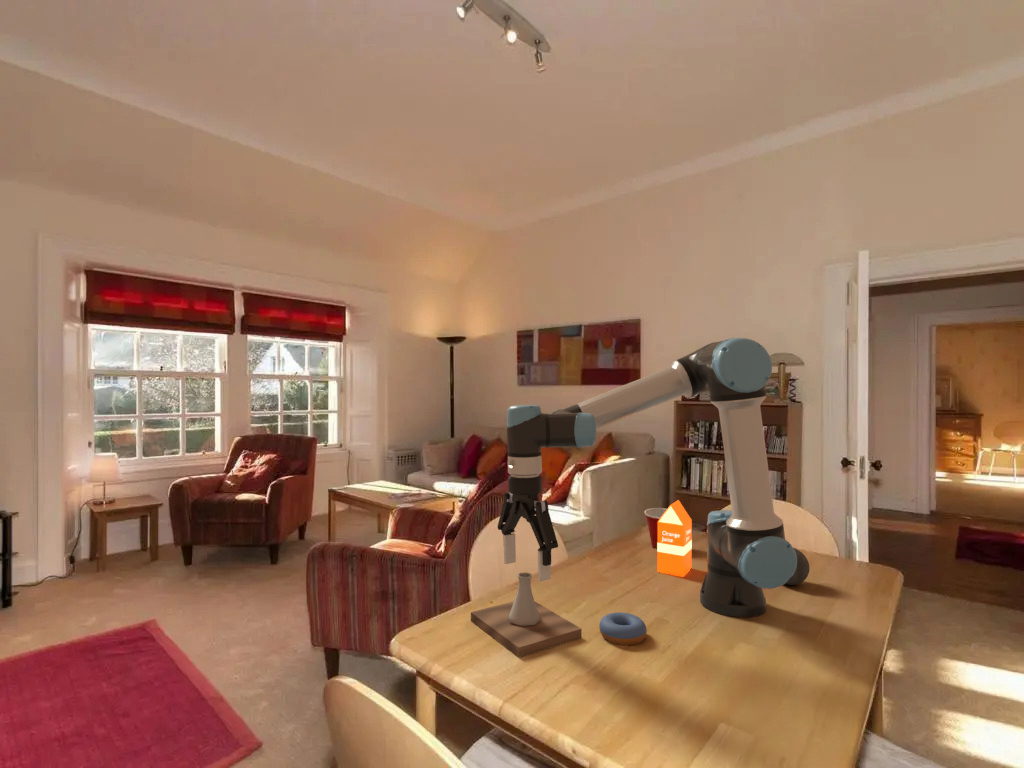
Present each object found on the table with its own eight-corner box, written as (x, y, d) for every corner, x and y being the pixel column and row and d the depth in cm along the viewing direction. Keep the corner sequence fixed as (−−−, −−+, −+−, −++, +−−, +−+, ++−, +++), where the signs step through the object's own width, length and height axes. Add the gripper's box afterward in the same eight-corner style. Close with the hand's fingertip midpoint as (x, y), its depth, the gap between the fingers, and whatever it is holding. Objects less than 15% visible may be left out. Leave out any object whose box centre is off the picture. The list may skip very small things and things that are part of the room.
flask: (538, 628, 117) (538, 581, 117) (504, 625, 118) (505, 579, 118) (543, 614, 124) (543, 570, 124) (511, 612, 125) (512, 568, 125)
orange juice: (692, 568, 162) (692, 500, 162) (683, 577, 155) (684, 506, 155) (665, 563, 166) (665, 497, 166) (656, 572, 159) (656, 503, 159)
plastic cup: (641, 550, 180) (641, 513, 180) (646, 541, 190) (646, 506, 190) (675, 553, 176) (676, 516, 176) (679, 544, 186) (679, 509, 186)
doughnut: (589, 629, 121) (591, 609, 120) (627, 624, 125) (629, 604, 124) (615, 654, 112) (617, 632, 111) (655, 647, 116) (657, 627, 115)
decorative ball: (812, 592, 144) (812, 554, 144) (770, 587, 147) (770, 550, 147) (805, 579, 153) (805, 544, 153) (766, 575, 156) (766, 540, 156)
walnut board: (581, 638, 117) (581, 628, 117) (518, 657, 108) (518, 647, 108) (528, 606, 134) (528, 597, 134) (470, 620, 125) (470, 612, 125)
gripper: (482, 469, 130) (483, 559, 130) (544, 484, 109) (546, 591, 109) (509, 466, 134) (510, 553, 134) (573, 480, 113) (575, 584, 113)
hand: (526, 571), depth 121 cm, fingers open, 13 cm apart
